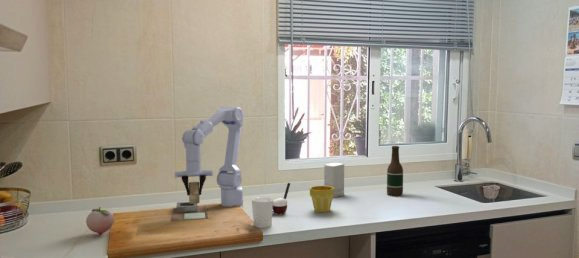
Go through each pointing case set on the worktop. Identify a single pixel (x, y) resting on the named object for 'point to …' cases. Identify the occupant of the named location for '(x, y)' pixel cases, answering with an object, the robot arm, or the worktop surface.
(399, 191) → the beer bottle
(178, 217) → the walnut board
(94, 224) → the decorative fruit
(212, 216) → the worktop surface
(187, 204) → the grey square frame
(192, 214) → the pad
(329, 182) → the skincare box
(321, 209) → the plant pot
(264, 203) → the white cup
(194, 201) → the maple peg
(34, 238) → the worktop surface
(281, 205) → the cocoa
